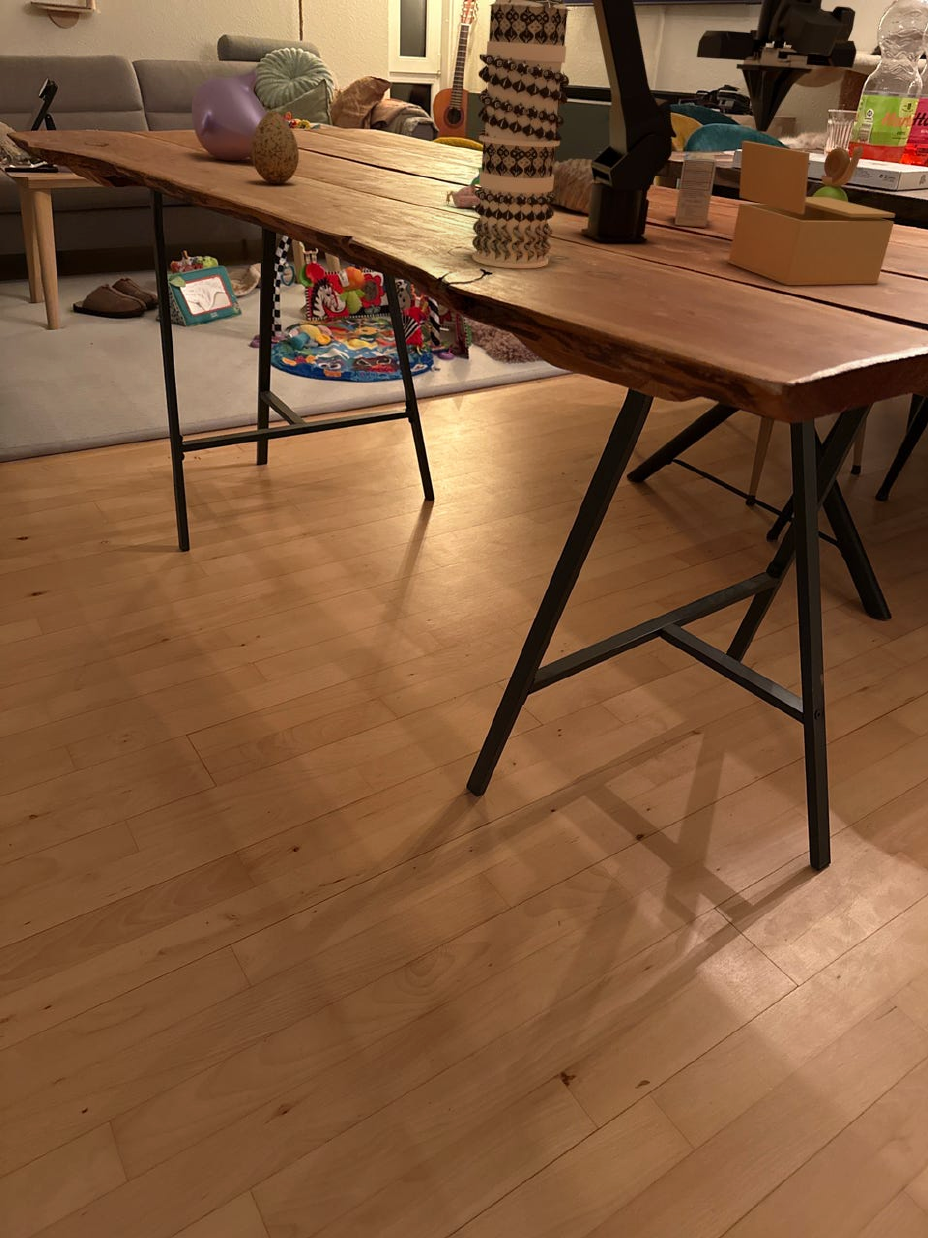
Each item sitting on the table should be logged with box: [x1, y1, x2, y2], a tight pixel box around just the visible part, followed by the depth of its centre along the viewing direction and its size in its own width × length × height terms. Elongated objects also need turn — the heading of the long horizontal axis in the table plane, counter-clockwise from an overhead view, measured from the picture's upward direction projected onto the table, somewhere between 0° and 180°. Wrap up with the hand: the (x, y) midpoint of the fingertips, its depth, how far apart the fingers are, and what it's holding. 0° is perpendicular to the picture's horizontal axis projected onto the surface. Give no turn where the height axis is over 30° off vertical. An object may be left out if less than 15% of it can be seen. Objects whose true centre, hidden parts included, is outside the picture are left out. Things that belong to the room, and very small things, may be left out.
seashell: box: [551, 157, 601, 215], centre depth 137 cm, size 14×9×10 cm
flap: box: [739, 140, 811, 214], centre depth 99 cm, size 6×12×1 cm
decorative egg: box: [251, 110, 300, 185], centre depth 143 cm, size 7×7×10 cm
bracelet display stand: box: [471, 0, 572, 269], centre depth 97 cm, size 9×9×25 cm
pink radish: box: [445, 166, 482, 209], centre depth 131 cm, size 6×6×15 cm
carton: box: [728, 196, 896, 286], centre depth 104 cm, size 12×12×7 cm
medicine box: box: [674, 153, 717, 229], centre depth 132 cm, size 8×4×9 cm, turn 168°
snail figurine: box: [811, 137, 868, 202], centre depth 136 cm, size 5×6×12 cm
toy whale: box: [191, 70, 289, 162], centre depth 163 cm, size 14×25×16 cm, turn 46°
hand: (761, 131), depth 115 cm, fingers closed
